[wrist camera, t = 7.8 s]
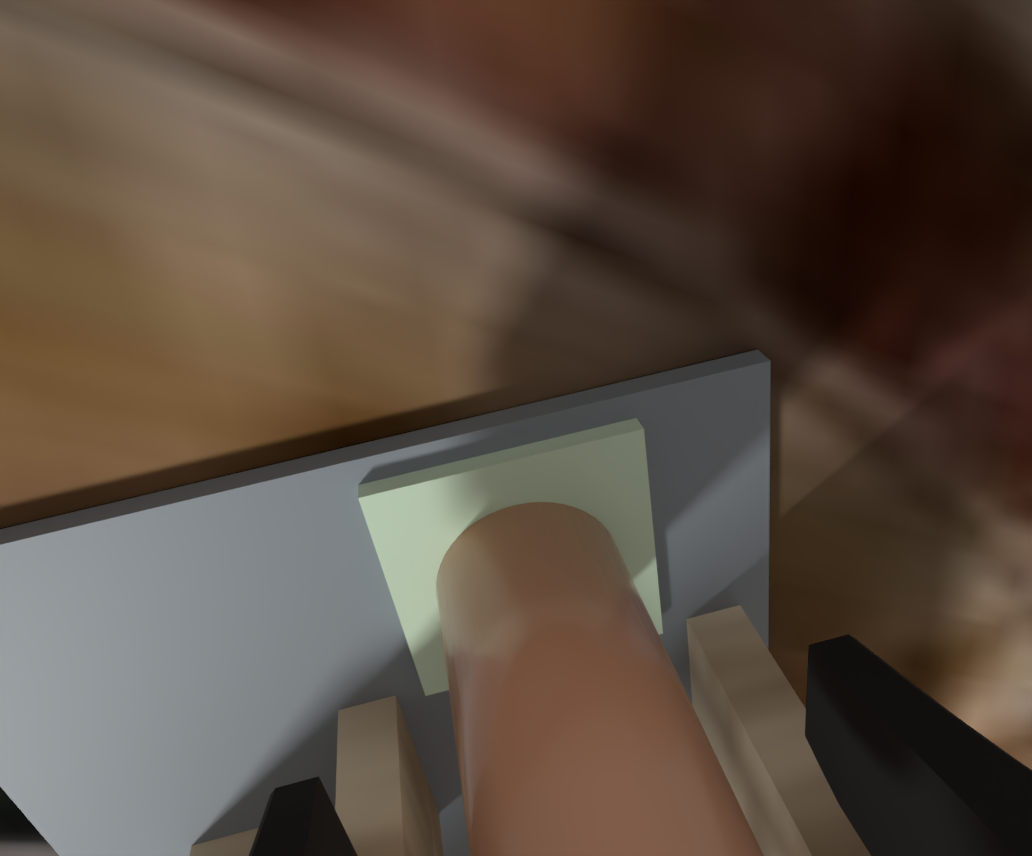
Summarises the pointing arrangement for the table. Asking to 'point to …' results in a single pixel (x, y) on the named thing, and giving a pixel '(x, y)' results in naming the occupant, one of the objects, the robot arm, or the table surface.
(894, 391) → the table surface
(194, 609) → the board
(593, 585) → the peg
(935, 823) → the robot arm
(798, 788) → the tan piece
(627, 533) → the pad
